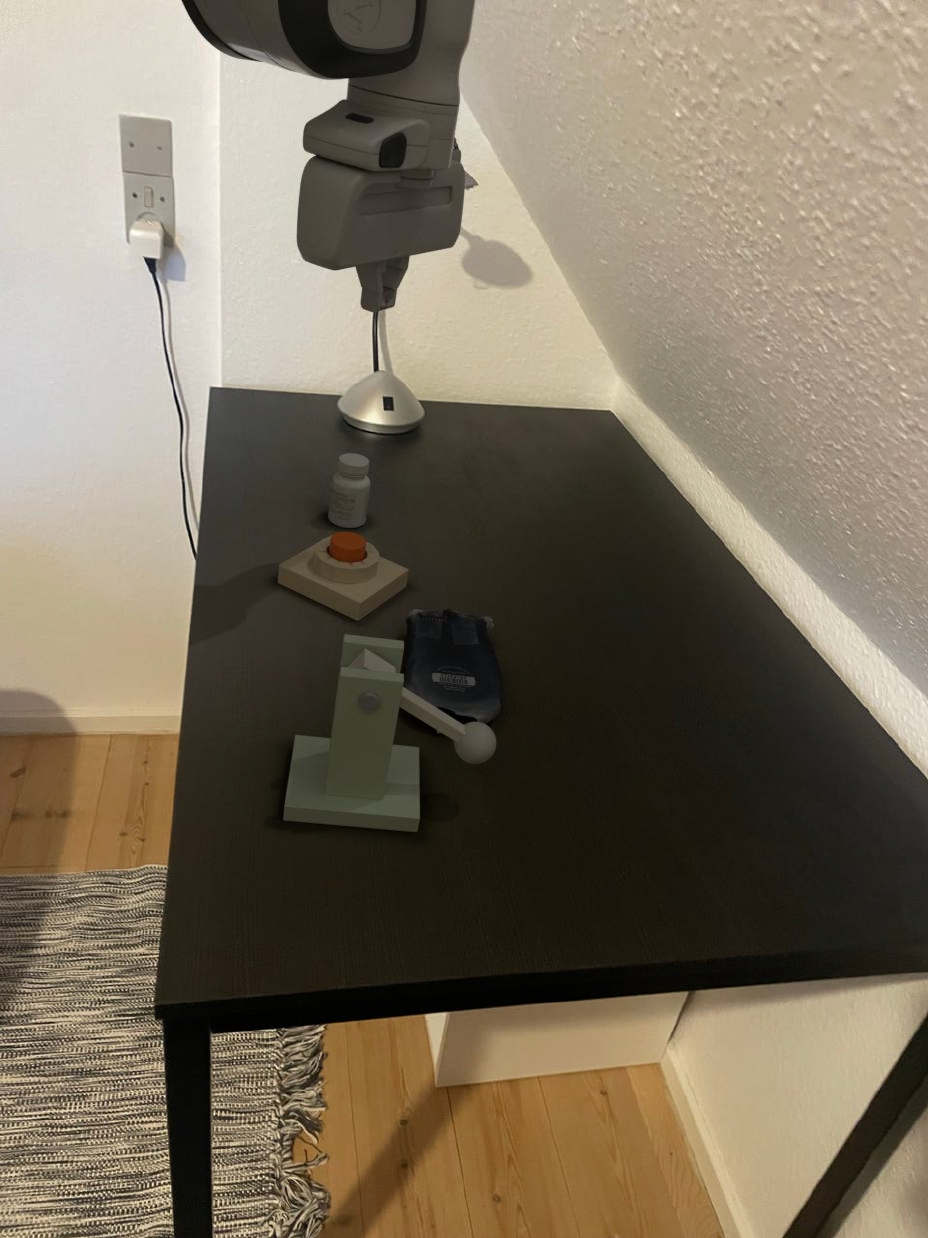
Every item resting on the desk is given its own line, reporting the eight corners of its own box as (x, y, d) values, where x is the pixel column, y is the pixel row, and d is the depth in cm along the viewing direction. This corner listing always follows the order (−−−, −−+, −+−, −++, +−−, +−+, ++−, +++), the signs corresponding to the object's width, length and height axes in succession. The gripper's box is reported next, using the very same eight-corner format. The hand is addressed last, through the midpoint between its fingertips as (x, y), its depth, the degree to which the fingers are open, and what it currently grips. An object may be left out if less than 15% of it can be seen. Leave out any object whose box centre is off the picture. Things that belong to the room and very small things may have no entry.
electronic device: (391, 645, 93) (398, 727, 80) (406, 595, 91) (416, 671, 78) (480, 665, 95) (502, 747, 82) (497, 616, 93) (522, 693, 80)
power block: (277, 583, 96) (280, 549, 94) (329, 552, 103) (333, 519, 101) (357, 621, 93) (362, 587, 91) (406, 586, 100) (411, 554, 98)
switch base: (416, 760, 78) (441, 633, 71) (417, 832, 71) (444, 700, 64) (293, 748, 76) (307, 617, 69) (282, 820, 70) (296, 684, 63)
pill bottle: (351, 508, 113) (358, 448, 109) (372, 525, 110) (381, 464, 106) (320, 514, 110) (326, 453, 106) (341, 532, 108) (349, 470, 103)
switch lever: (476, 751, 74) (503, 726, 73) (478, 779, 72) (506, 754, 70) (342, 668, 69) (369, 640, 68) (339, 695, 67) (367, 666, 65)
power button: (321, 554, 95) (323, 539, 95) (342, 542, 98) (344, 527, 97) (351, 568, 94) (353, 553, 93) (371, 555, 97) (373, 540, 96)
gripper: (431, 126, 85) (409, 283, 92) (288, 125, 69) (275, 315, 76) (492, 142, 82) (465, 301, 90) (360, 145, 67) (339, 338, 74)
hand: (377, 308), depth 83 cm, fingers closed
